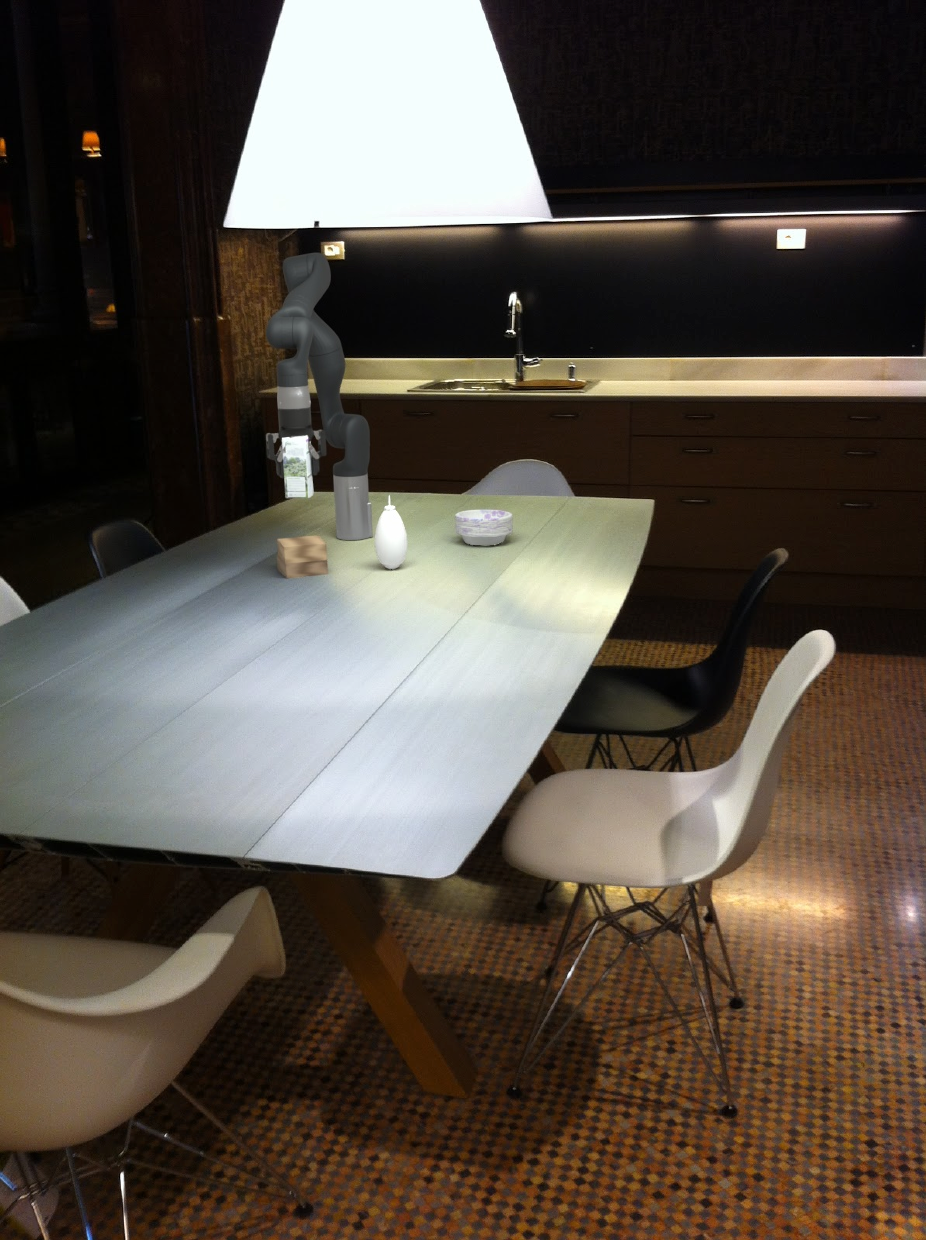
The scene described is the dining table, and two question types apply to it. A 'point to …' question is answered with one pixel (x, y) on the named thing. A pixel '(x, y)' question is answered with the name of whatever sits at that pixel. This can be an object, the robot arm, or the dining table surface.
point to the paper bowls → (483, 526)
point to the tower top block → (302, 549)
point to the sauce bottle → (390, 538)
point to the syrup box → (297, 467)
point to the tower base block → (302, 568)
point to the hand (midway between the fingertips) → (298, 475)
